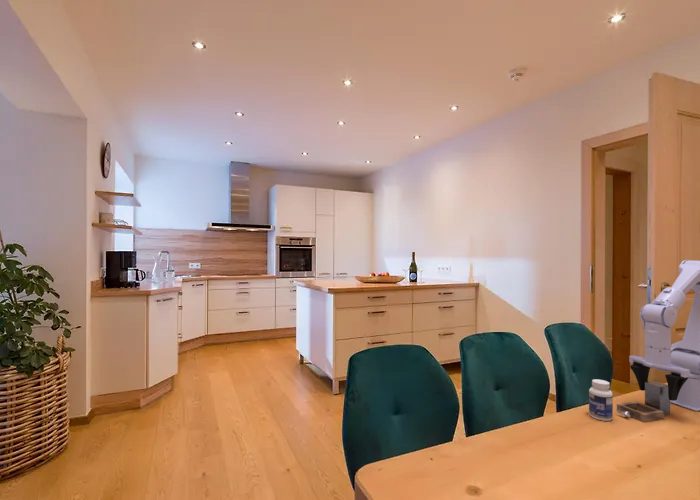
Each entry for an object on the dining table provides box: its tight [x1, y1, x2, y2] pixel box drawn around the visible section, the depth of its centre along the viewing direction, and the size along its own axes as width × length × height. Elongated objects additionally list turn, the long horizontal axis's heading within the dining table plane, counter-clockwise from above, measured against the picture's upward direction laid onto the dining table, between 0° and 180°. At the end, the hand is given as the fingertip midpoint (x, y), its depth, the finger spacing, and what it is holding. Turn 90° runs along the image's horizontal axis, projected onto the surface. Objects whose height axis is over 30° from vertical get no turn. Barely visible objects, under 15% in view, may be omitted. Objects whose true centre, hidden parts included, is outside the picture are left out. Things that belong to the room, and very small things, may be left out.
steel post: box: [644, 380, 671, 416], centre depth 105 cm, size 4×4×8 cm
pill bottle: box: [588, 378, 614, 422], centre depth 101 cm, size 5×5×10 cm
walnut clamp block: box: [616, 400, 665, 423], centre depth 103 cm, size 10×7×2 cm
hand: (657, 394), depth 105 cm, fingers open, 7 cm apart
